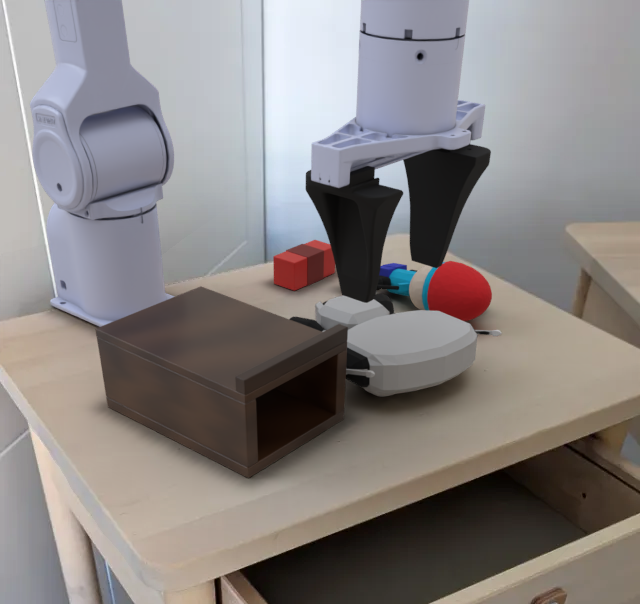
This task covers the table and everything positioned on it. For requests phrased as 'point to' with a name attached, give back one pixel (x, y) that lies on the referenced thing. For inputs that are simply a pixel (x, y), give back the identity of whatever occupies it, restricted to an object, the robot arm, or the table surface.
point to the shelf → (225, 377)
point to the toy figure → (440, 288)
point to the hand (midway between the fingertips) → (393, 279)
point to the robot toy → (398, 344)
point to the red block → (303, 265)
